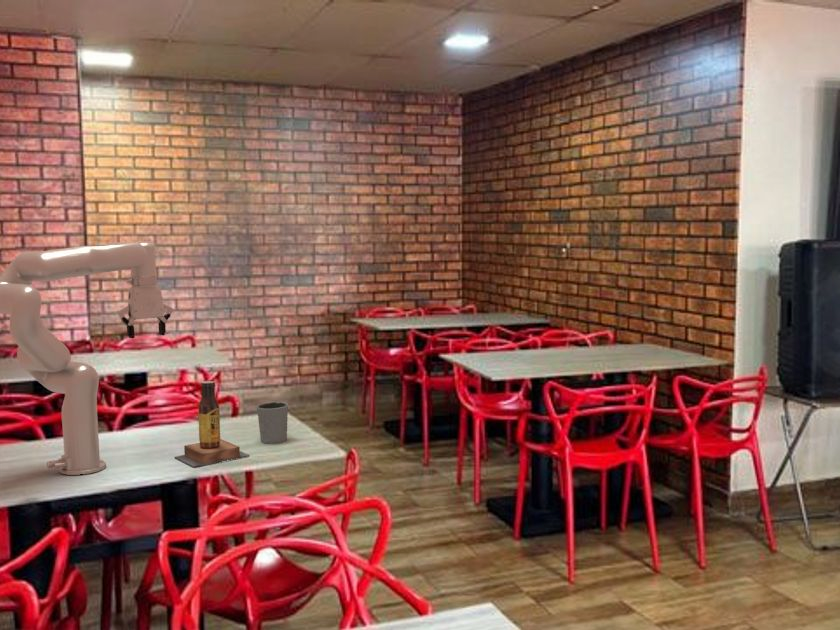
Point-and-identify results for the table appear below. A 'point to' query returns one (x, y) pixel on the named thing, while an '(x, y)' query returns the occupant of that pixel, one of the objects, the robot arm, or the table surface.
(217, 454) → the brown block with base
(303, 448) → the table surface
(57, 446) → the table surface
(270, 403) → the grey cup
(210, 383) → the sauce bottle
